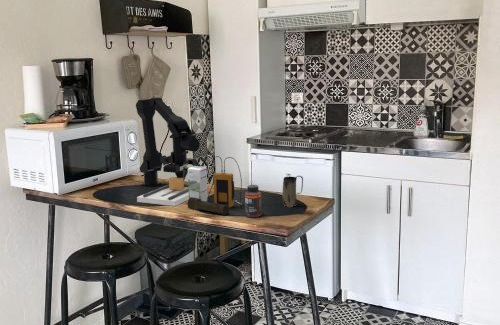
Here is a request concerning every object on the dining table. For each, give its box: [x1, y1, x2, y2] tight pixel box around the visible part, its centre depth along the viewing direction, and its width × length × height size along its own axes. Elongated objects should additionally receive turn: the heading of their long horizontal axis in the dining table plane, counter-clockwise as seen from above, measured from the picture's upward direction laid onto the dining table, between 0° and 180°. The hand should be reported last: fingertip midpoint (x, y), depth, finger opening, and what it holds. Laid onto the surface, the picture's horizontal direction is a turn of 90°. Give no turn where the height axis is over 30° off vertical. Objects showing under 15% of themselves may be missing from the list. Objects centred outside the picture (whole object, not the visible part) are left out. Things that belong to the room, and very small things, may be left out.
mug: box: [282, 175, 304, 208], centre depth 198 cm, size 8×6×12 cm
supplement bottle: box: [244, 184, 263, 218], centre depth 185 cm, size 6×6×11 cm
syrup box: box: [187, 165, 209, 202], centre depth 204 cm, size 6×6×14 cm
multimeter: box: [206, 155, 245, 209], centre depth 200 cm, size 15×10×20 cm
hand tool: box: [187, 197, 230, 216], centre depth 193 cm, size 19×4×5 cm, turn 54°
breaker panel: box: [136, 183, 189, 207], centre depth 213 cm, size 22×18×3 cm
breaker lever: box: [168, 176, 185, 190], centre depth 217 cm, size 2×6×5 cm, turn 67°
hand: (181, 184), depth 221 cm, fingers closed
